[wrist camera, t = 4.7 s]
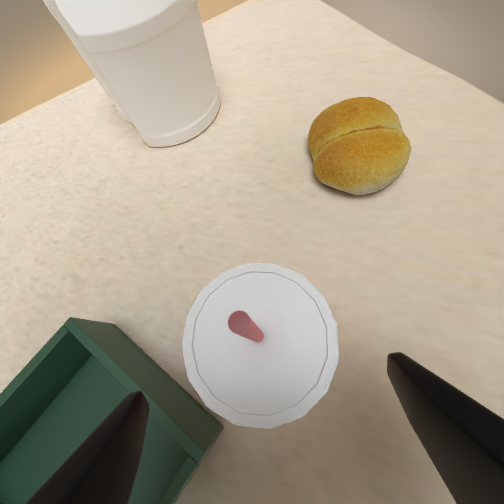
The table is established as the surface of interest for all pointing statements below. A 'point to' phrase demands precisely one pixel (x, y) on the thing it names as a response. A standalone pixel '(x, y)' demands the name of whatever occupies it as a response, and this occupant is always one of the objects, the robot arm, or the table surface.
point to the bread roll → (358, 146)
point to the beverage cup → (260, 345)
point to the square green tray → (97, 413)
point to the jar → (147, 62)
